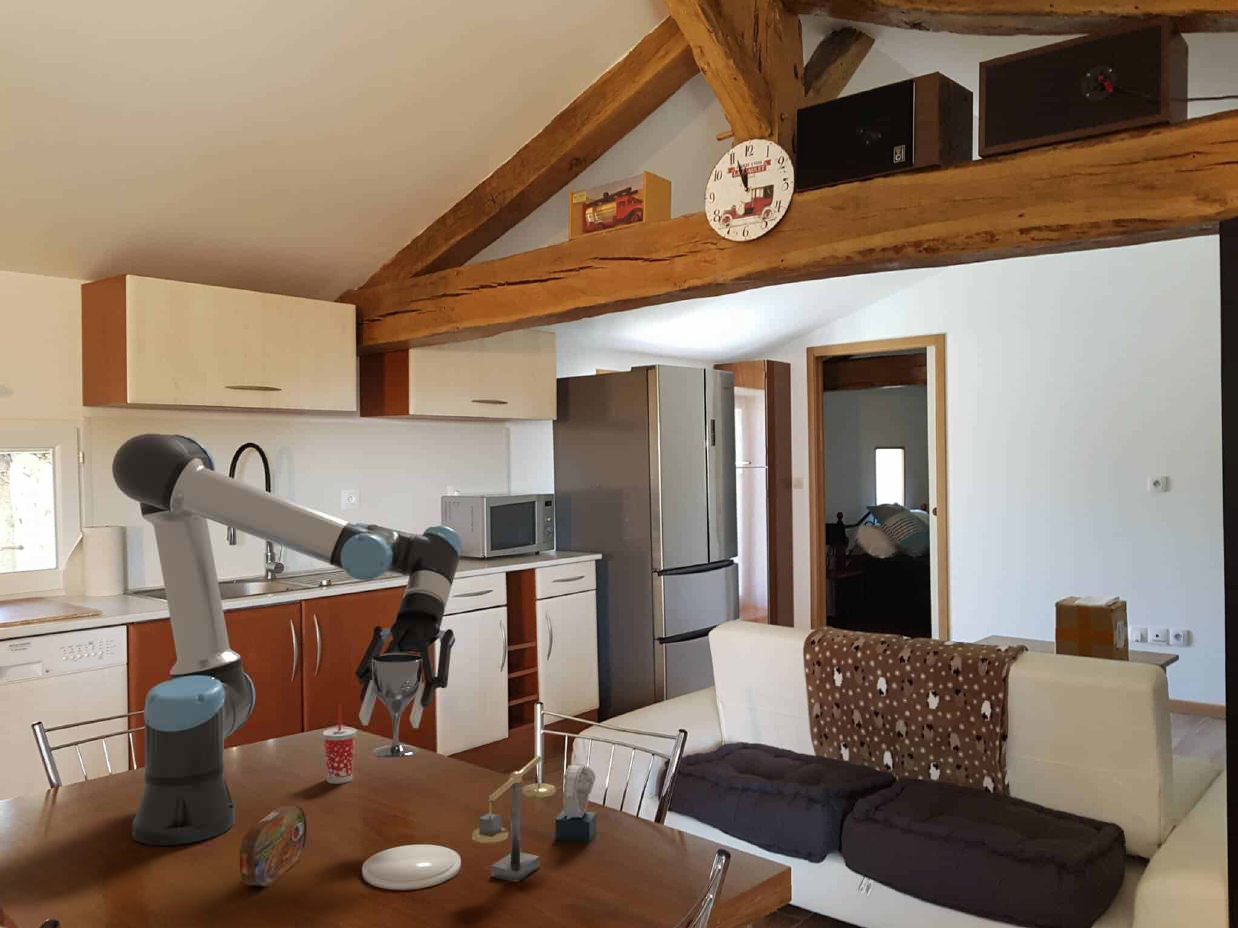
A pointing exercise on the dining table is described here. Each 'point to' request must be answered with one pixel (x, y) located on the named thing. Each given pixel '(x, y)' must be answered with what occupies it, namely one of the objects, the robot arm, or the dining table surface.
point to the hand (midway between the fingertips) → (388, 721)
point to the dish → (411, 867)
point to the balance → (512, 826)
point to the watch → (576, 805)
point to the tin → (272, 846)
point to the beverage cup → (339, 752)
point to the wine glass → (396, 693)
